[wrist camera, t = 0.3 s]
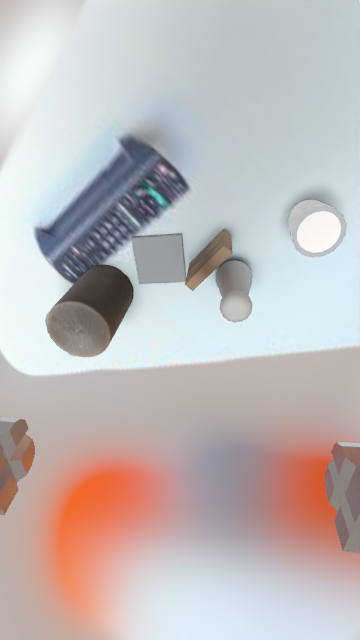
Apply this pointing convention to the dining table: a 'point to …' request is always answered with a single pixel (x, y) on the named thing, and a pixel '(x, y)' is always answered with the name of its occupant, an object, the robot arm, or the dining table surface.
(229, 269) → the salt shaker
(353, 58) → the dining table surface
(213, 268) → the walnut box
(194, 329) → the dining table surface
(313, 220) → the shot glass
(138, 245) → the slate mat
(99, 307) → the pillar candle
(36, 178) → the dining table surface
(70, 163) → the dining table surface
